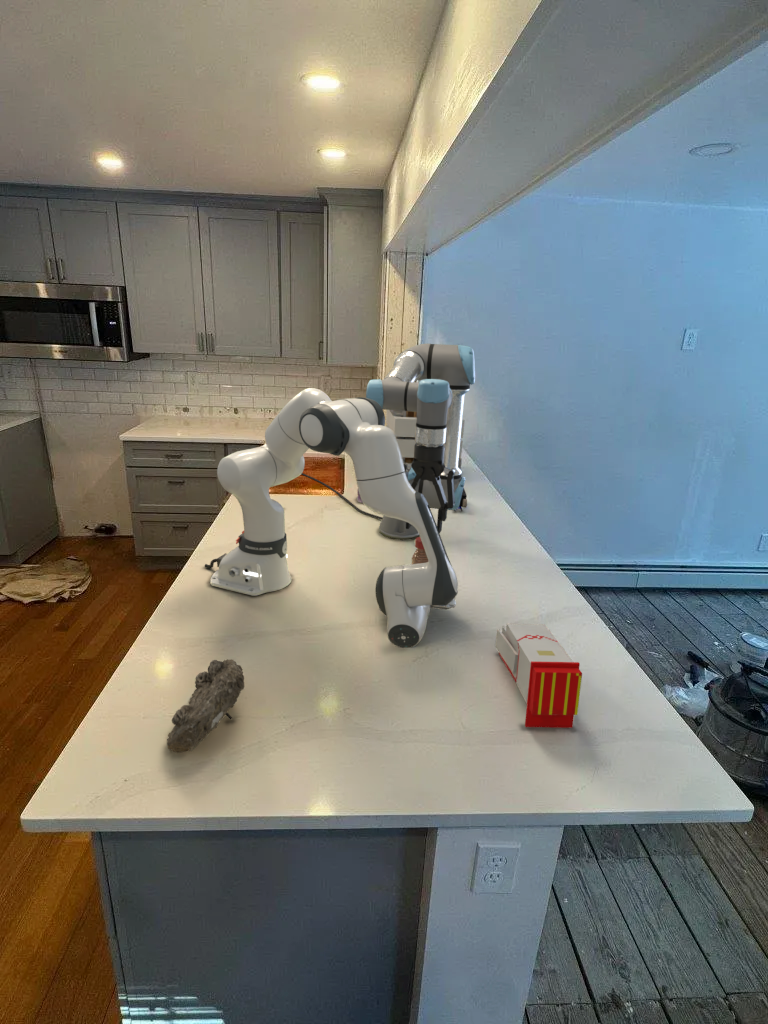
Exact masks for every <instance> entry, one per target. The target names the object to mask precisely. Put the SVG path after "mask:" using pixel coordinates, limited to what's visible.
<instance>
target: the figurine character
mask: <svg viewBox="0 0 768 1024" xmlns="http://www.w3.org/2000/svg"><path fill="white" fill-rule="evenodd" d="M467 495H468V494H467V493H466V490H465V487H464V488H463V492H462V496H461V500H460V504H459V507H458V509H459V510H460V512H463V509H464V508H465V509H466V508H467V506H468V499H467V497H468V496H467ZM458 509H457V510H458ZM453 512H456V510H453Z"/></svg>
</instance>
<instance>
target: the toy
mask: <svg viewBox="0 0 768 1024" xmlns="http://www.w3.org/2000/svg"><path fill="white" fill-rule="evenodd" d="M551 631H552V630H551V629H550V628H548V627H547V625H546V624H545V623H506V625H502V628H501V629H500V628H499V629H497V630H496V636H495V637H496V638H495V644H494V647H495V649H496V651H497V652H498V655H499V657H500V659H501V661H502V662H503V664H504V666H505V667H506V669H507V670H508V672H509V674H510V676H511V677H512V679H513V680H514V682H515V683H516V686H517V688H518V690H519V693H520V694H521V695H522V698H523V700H524V702H525V704H526V708H525V709H526V710H525V721H524V727H525V728H552V729H553V728H555V729H556V728H557V729H562V728H563V729H573V726H574V719H575V716H578V712H579V703H580V695H581V687H582V677H583V672H582V670H580V667H581V665H580V662H578V661H573V659H572V657H570V656H569V655H570V654H568V653H567V651H566V650H565V649H564V647H563V646H562V645H561V644H560V641H558V639H557V638H556V637H555V636H554V634H553V633H552V632H551Z"/></svg>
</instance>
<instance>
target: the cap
mask: <svg viewBox="0 0 768 1024" xmlns="http://www.w3.org/2000/svg"><path fill="white" fill-rule="evenodd" d="M414 540H415V541H414V547H415V548H416V549H417V548H418V549H424V546H423V544H422V541H421V538H420V537H417V538H415V539H414Z"/></svg>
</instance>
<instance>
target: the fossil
mask: <svg viewBox="0 0 768 1024" xmlns="http://www.w3.org/2000/svg"><path fill="white" fill-rule="evenodd" d="M243 670H244V669H243V667H242V665H240V664H237V662H236V661H235V660H234V659H232V658H231V659H227V658H226V659H224V660H223V661H222V660H217V659H212V660H211V661H210V663H209V665H208V666H207V671H201V672H199V673H198V674H197V675H196V676H195V680H194V684H195V685H194V687H195V689H194V690H193V693H192V694H191V697H190V698H189V700H188V704H184V705H182V706H181V707H180V709H177V710H176V711H175V713H174V715H173V716H172V718H171V723H172V724H173V727H172V730H171V731H170V732H168V734H167V738H166V741H167V742H166V745H167V749H168V750H169V751H173V752H174V753H176V754H178V753H182V752H188V751H189V752H192V751H193V750H195V748H196V747H197V746H199V744H200V743H201V742H203V741H204V740H205V739H206V738H207V737H208V736H209V735H210V734H211V733H212V732H214V730H215V729H217V727H218V726H219V724H220V722H221V721H222V720H223V719H224V718H225V716H226V717H227V719H229V720H233V717H232V715H230V714H229V710H230V709H231V708H234V706H235V704H236V703H237V702H238V699H239V697H240V695H241V693H242V691H243V690H245V689H244V688H245V675H244V671H243Z"/></svg>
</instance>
